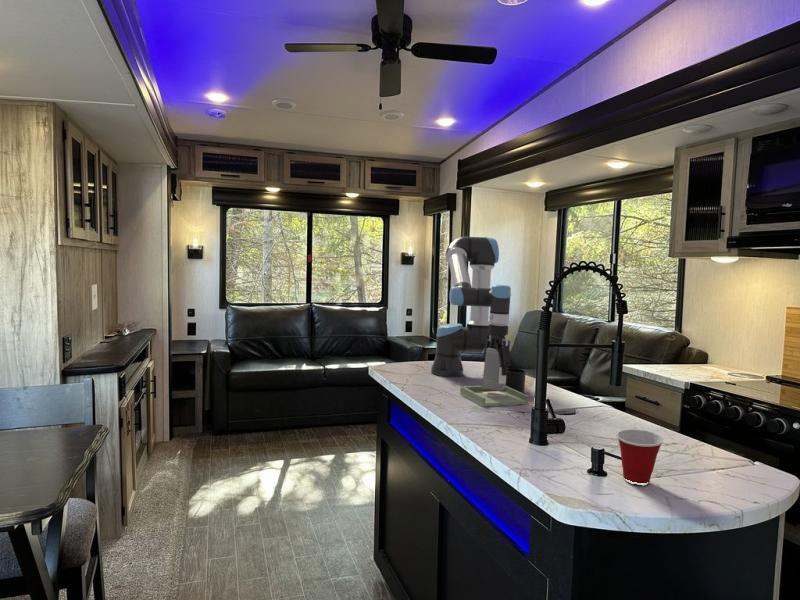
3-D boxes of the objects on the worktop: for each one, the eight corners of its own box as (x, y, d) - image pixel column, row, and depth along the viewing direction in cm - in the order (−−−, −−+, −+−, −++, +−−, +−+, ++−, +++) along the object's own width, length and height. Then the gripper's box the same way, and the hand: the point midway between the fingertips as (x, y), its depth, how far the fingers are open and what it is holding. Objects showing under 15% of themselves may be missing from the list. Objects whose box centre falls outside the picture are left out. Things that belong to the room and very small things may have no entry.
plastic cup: (603, 476, 137) (606, 430, 136) (632, 470, 142) (636, 426, 141) (638, 494, 127) (643, 444, 126) (669, 487, 132) (673, 440, 131)
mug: (514, 387, 232) (516, 366, 231) (528, 394, 220) (529, 372, 219) (494, 387, 229) (496, 366, 228) (507, 394, 218) (509, 372, 217)
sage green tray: (460, 394, 214) (460, 386, 214) (503, 392, 221) (503, 384, 221) (482, 406, 197) (482, 398, 197) (528, 404, 204) (529, 396, 204)
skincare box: (481, 388, 210) (484, 348, 209) (485, 385, 217) (488, 346, 216) (503, 391, 207) (505, 351, 206) (506, 387, 214) (509, 348, 213)
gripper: (476, 320, 219) (473, 374, 221) (505, 328, 199) (501, 387, 200) (492, 320, 222) (489, 373, 224) (523, 328, 201) (519, 386, 203)
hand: (495, 380), depth 212 cm, fingers closed on skincare box, 10 cm apart
